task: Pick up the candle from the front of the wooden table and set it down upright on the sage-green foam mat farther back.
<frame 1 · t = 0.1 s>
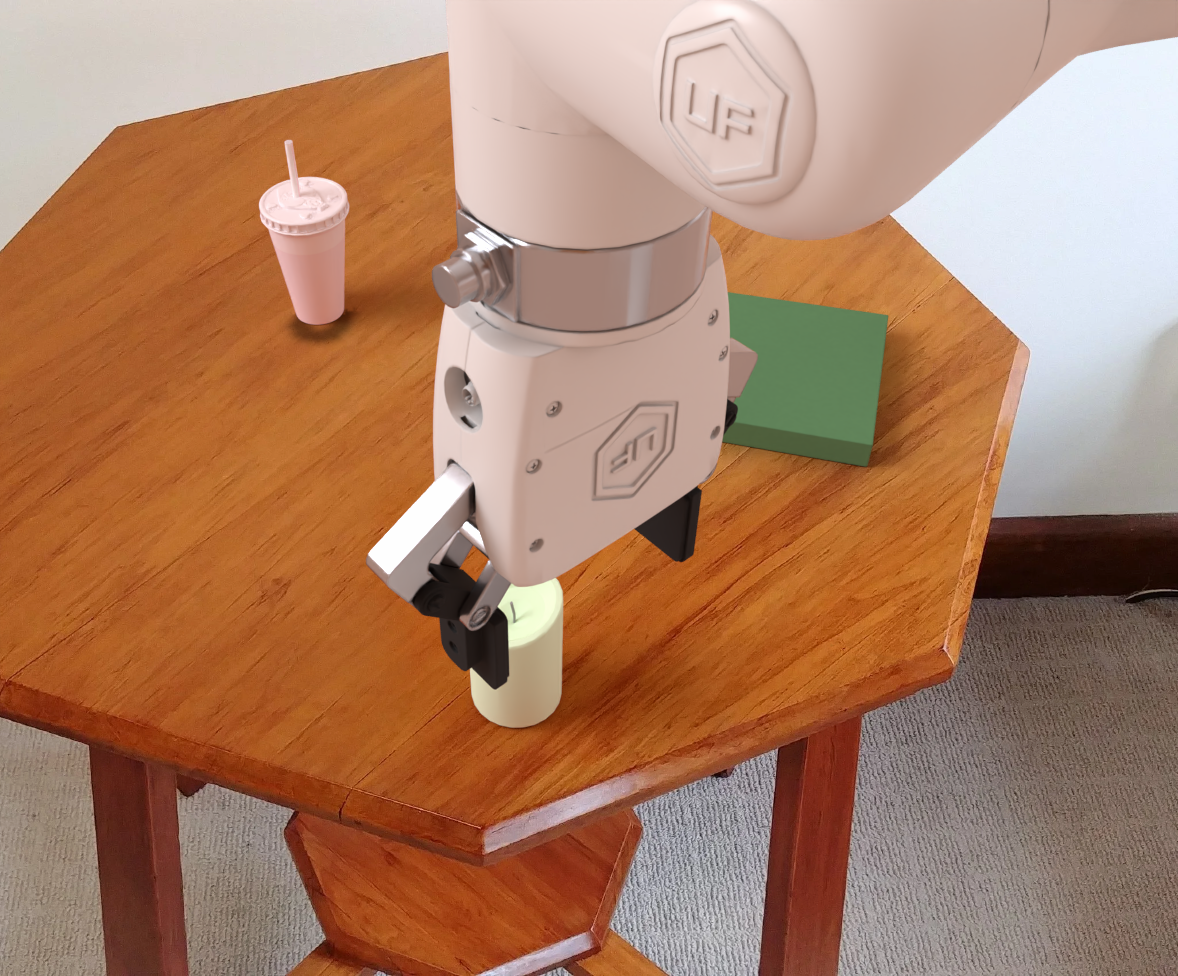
hand: (571, 599, 49), 19 cm above the table, tool pointing down, fingers open, 9 cm apart
smoothie: (320, 312, 95), on the table
foam: (728, 375, 87), on the table
candle: (516, 693, 69), on the table
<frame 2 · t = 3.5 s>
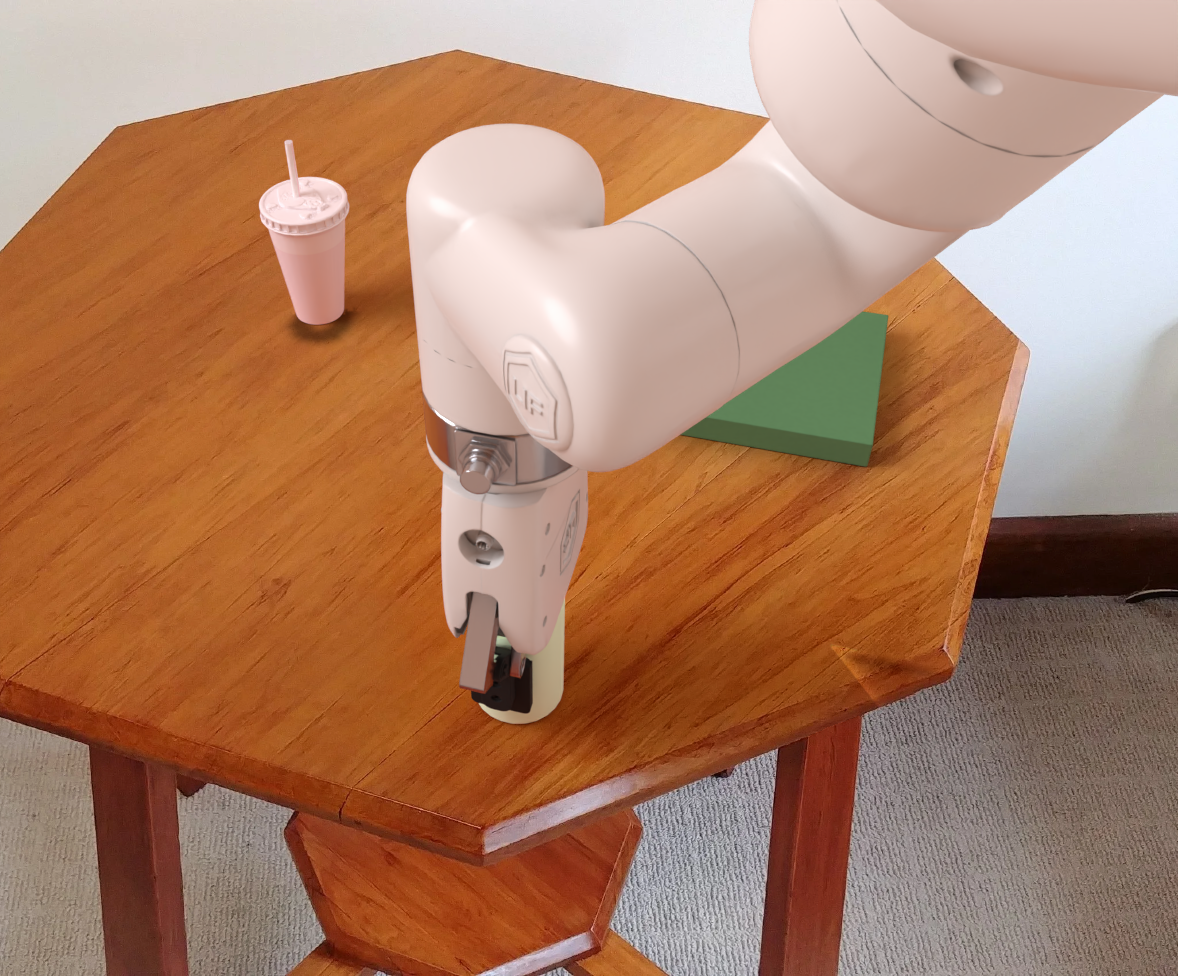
hand: (515, 662, 67), 3 cm above the table, tool pointing down, fingers closed on candle, 4 cm apart
candle: (518, 689, 69), on the table, touching gripper
everything else where it was.
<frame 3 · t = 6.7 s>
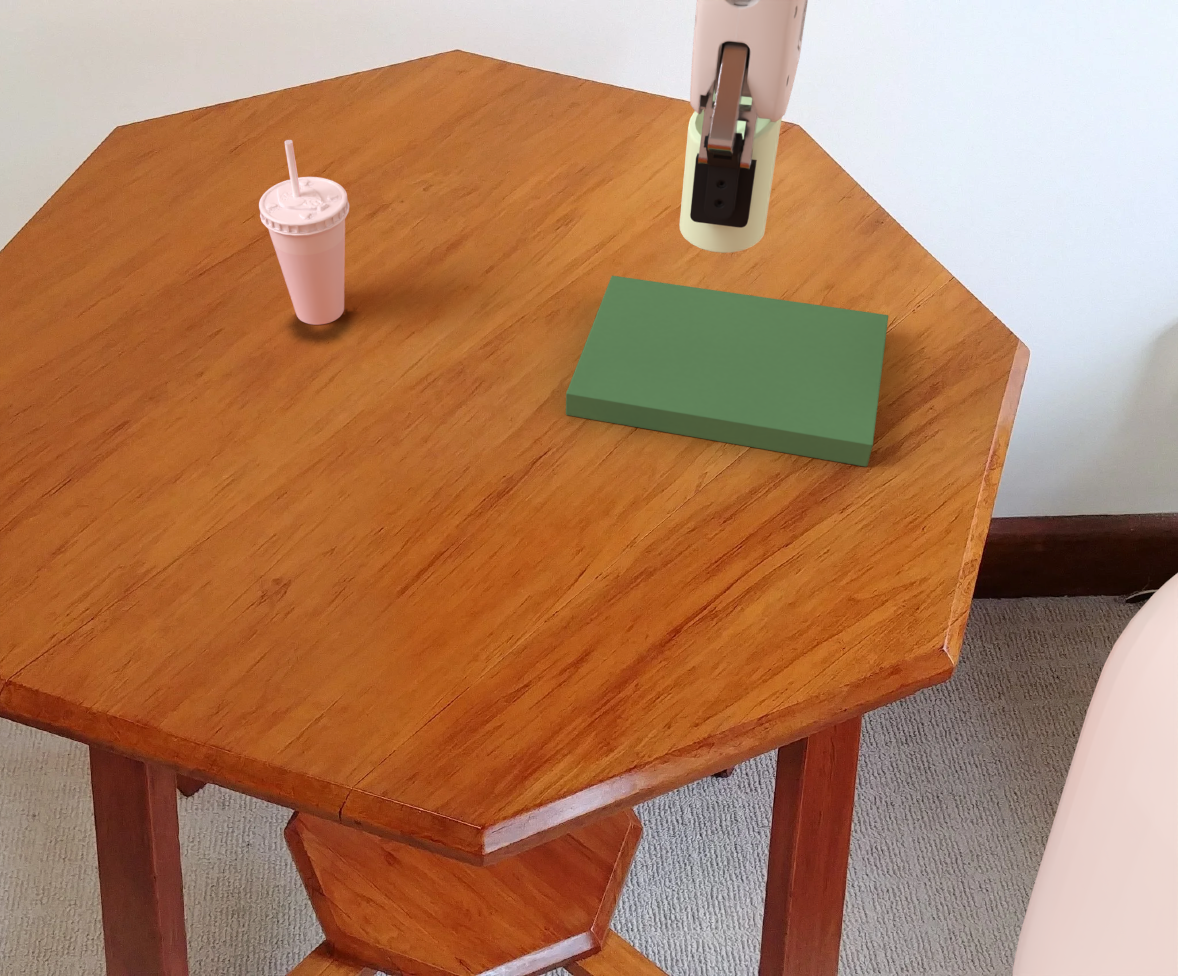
hand: (726, 194, 71), 17 cm above the table, tool pointing down, fingers closed on candle, 4 cm apart
candle: (721, 232, 74), point 15 cm above the table, touching gripper
everything else where it was.
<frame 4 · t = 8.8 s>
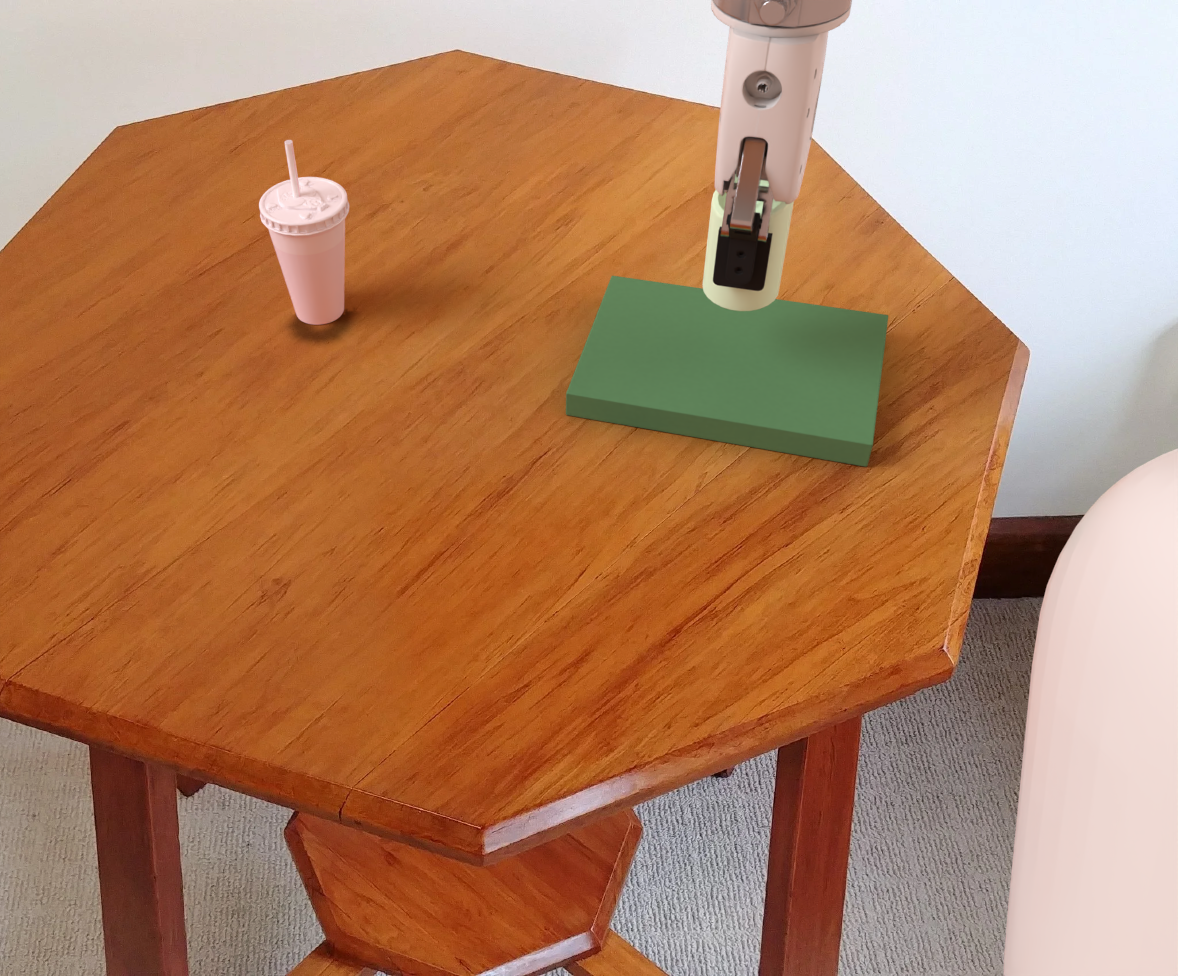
hand: (744, 259, 80), 10 cm above the table, tool pointing down, fingers closed on candle, 4 cm apart
candle: (740, 291, 82), point 7 cm above the table, touching gripper
everything else where it was.
when the fingers open (5 cm above the table, at t = 10.4 s): candle stays where it is, resting on foam.
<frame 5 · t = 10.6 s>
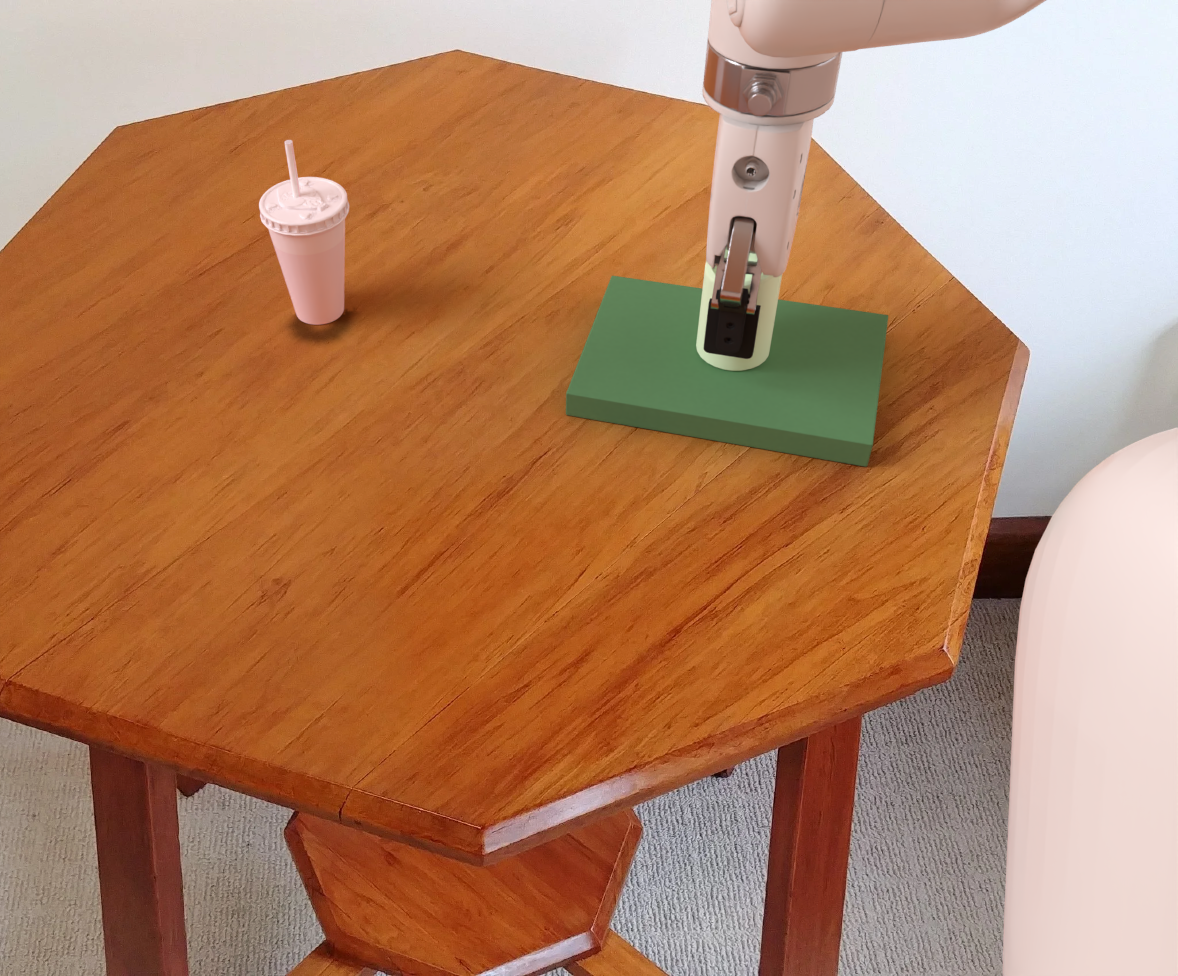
hand: (736, 320, 83), 5 cm above the table, tool pointing down, fingers open, 6 cm apart
candle: (732, 351, 86), point 2 cm above the table, touching foam
everything else where it was.
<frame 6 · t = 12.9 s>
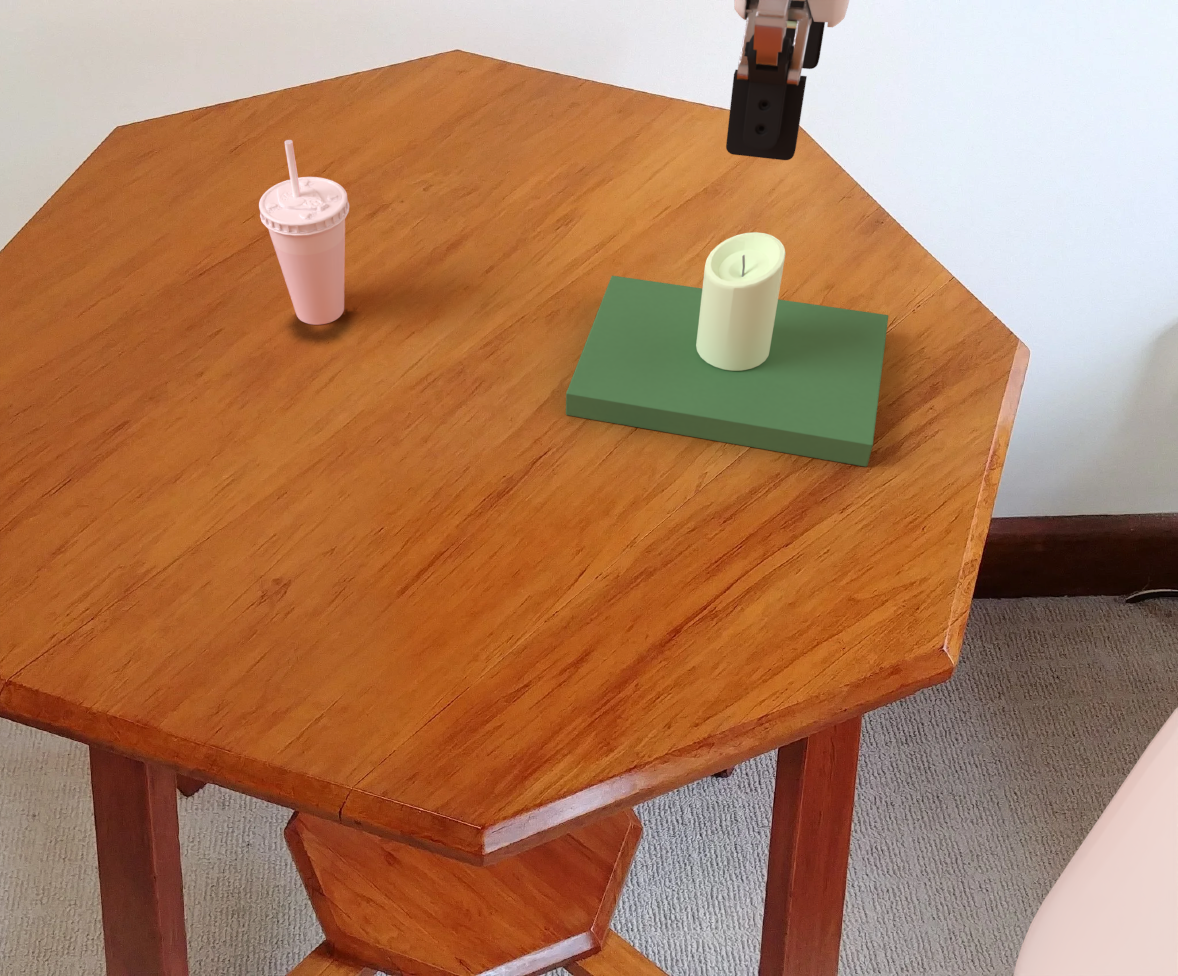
hand: (774, 107, 62), 25 cm above the table, tool pointing down, fingers open, 9 cm apart
nothing on the table moved.
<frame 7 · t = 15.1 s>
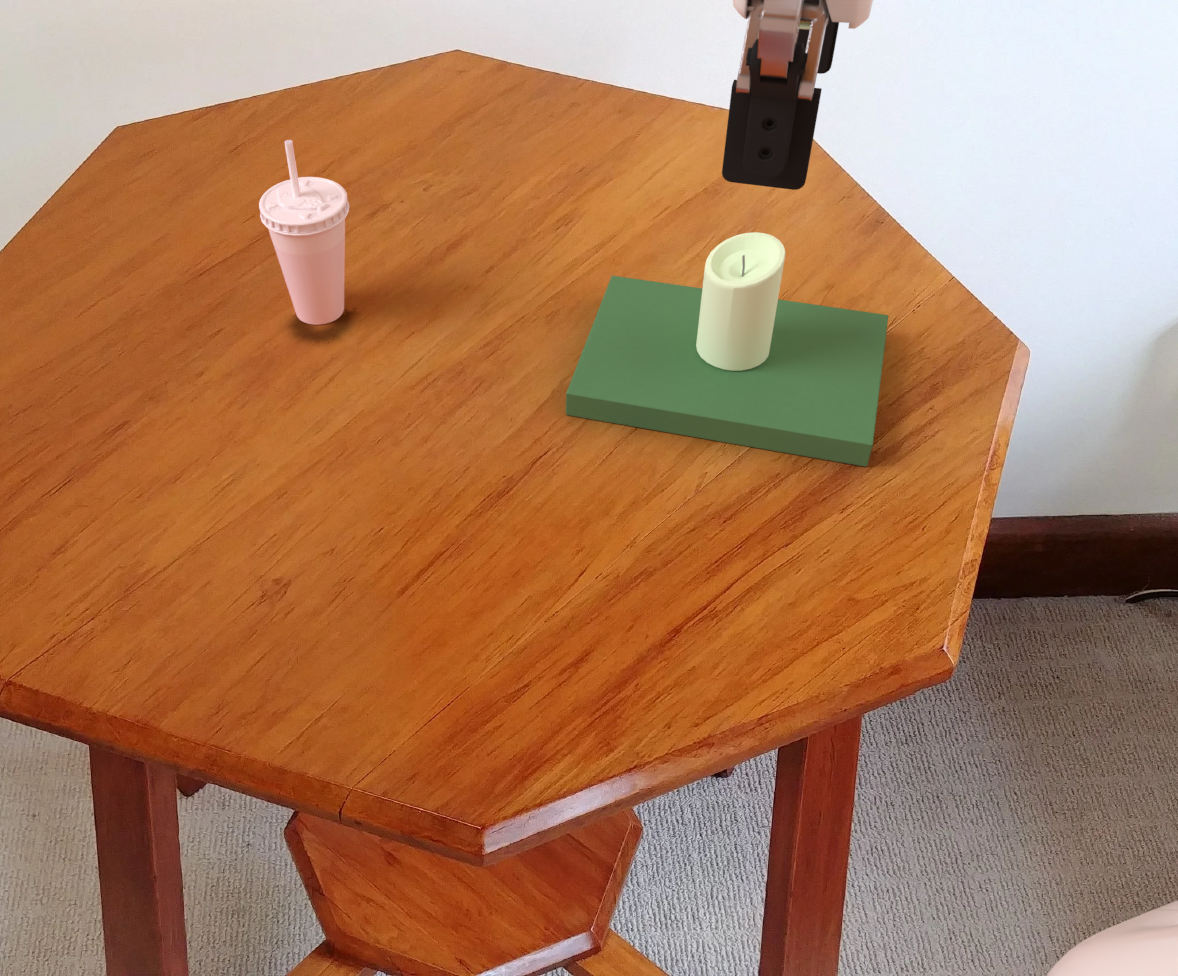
hand: (779, 121, 52), 30 cm above the table, tool pointing down, fingers open, 9 cm apart
nothing on the table moved.
at the end: candle inside the target area on the foam (0.4 cm from its centre), point 1.8 cm above the foam's base; candle tilted 0°; the gripper is holding nothing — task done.
